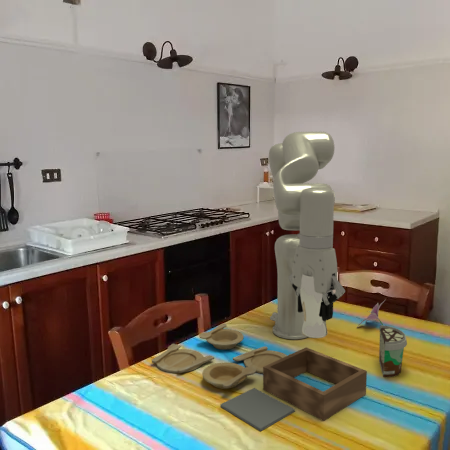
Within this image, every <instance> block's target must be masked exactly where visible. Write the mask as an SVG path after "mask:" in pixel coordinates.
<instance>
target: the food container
mask: <svg viewBox="0 0 450 450" xmlns="http://www.w3.org/2000/svg"><path fill="white" fill-rule="evenodd" d="M383 325H384V324H383ZM383 325H382V324H381V325H379V350H378V352H379V353H378V361H379V365H380V371H381V374H382V377H383V378H391V377H393V378H394V377H397V376H399V375H400V374H401V371H402V365H403V357H404V349H405V348H406V347H407V346H408V342H407V336H406V334H405V333H404V332H403V331H402V330H401V329H399V328H396V327H394V326H393V327H392V326H388V325H384V326H383Z"/></svg>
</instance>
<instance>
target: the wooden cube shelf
mask: <svg viewBox="0 0 450 450" xmlns="http://www.w3.org/2000/svg"><path fill="white" fill-rule="evenodd" d="M289 354H290V355H289ZM289 354H288V355H287V356H286V357H284V358H281V359H279V360H277V361H275V362H273V363H270V364H268V365H266V366H264V367H263V374H262V390H264V391H265V392H267V393H268V394H271V395H274V396H275V397H276V398H279V399H281V400H283V401H284V402H287V403H289V404H291V405H292V406H294V407H296V408H298V409H300V410H302V411H304V412H305V413H307V414H310V415H312V416H314V417H315V418H318V419H319V420H320V421H324V422H325V421H326V420H328V419H329V418H331V417H333V416H334V415H335V414H337V413H339V412H340V411H342V410H343V409H345V408H347V407H348V406H350V405H351V404H353V403H355V402H356V401H357V400H360V399H361V398H363V397H364V396H366V395H367V378H368V377H367V375H368V371H367V370H365V369H363V368H360V367H358V366H355V365H352V364H350V363H347V362H345V361H342V360H340V359H337V358H334V357H332V356H329V355H326V354H324V353H323V352H319V351H316V350H314V349H311V348H309V347H307V346H306V347H303V348H302V349H299V350H297V351H295V352H293V353H289ZM306 372H307V373H309V374H312V375H314V376H317V377H319V378H321V379H323V380H326V381H328V382H331V383H333V384H334V385H332V386H331V387H329V388H327V389H325V390H320V389H319V388H316V387H314V386H312V385H310V384H308V383H306V382H304V381H302V380H299V379H297V378H296V377H298V376H300V375H302V374H304V373H306Z"/></svg>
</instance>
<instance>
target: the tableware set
mask: <svg viewBox="0 0 450 450" xmlns="http://www.w3.org/2000/svg"><path fill="white" fill-rule="evenodd" d="M227 327H228V326H227V324H226V323H221V324H219V325H218V326H217V327H215V328H213V329H212V330H209V331H206V332H202V333H200V334H199V335H198V336H199V339H203V340H206V342H207V343H209V344H211V345H213V348H215V349H218V350H225V351H226V350H231V349H234V348H235V347H236V346H237V344H239V343H241V342H243V341H244V337H245V336H244V334H243V333H242V331H240V330H237V329H234V328H233V329H232V328H227ZM181 347H182V345H181V344H175V343H171V345H169V346H168V347H167V349H166V351H164V352H162V353H161V354H159V355H157V356H156V357H154V358H152V359H151V364H156V366H157V368H158V369H159V370H161V371H162V372H166V373H173V374H175V373H176V374H177V373H178V374H182V373H188V372H192V371H195V370H197V369H199V368H200V367H202V365H203V364H205V363H209V362H211V361H213V360H215V357H214V356H213V355H206V356H204V355H203V354H202V353H201V352H199V351H197V350H194V349H189V348H188V349H187V348H181ZM268 349H269V348H268V346H261V347H259V348H255V349H253V350H250V351H247V352H244V353H242V354H239V355H237V356H234V357H232V361H234V362H241V361H243V364H244V366H245V367H244V366H243V365H241V364H237V363H234V362H228V361H227V362H225V361H224V362H216V363H213V364H210V365H208V366H206V367H205V368H204V369H203V371H202V379H203V380H204V381H205V382H207V383H208V384H211V385H212V386H213V387H215V388H217V389H224V390H226V389H232V388H235V387H237V386H238V385H239V384H241V383H243V382H244V381H245V380H246V379H247V378H248V376H253V375H254V374H255V373H256V374H257V373H258V374H262V375H263V367H264V366H266V365H268V364H270V363H273V362H275V361H277V360H279V359H281V358H284V357H286V356H288V355H290V354H291V353H289V354H288V355H287V354H286V353H284V352H280V351H275V350H270V349H269V350H268Z"/></svg>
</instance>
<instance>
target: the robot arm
mask: <svg viewBox="0 0 450 450" xmlns="http://www.w3.org/2000/svg"><path fill="white" fill-rule="evenodd" d="M334 155H335V142H334V139H333V136H332V135H331V134H330V133H328V132H327V131H295V132H291V133H289V134H287V135H286V136H285V137H284V139H283V140H282V142H280V143H276V144H273V145H272V146H271V147H270V148H269V150H268V163H269V168H270V171H271V174H272V178H273V179H274V180H273V187H272V188H273V197H274V198H273V199H274V203H275V208H276V209H277V214H278V216H277V217H278V224H279V227H280V228H281V229H282V230H284V231H285V230H286V231H299V232H298V233H297V234H296V233H295V234H294V233H293V234H284V235H281V236H279V237H278V238H276V241H275V242H274V253H275V254H274V255H275V260H276V262H275V263H276V269H277V270H276V271H277V272H276V273H277V312H275V311H274V312H272V315H270V316H269V319H270V321H273V322H275V323H274V325H273V326H272V332H273V334H274V335H275V336H277V337H279V338H282V339H286V340H287V339H288V340H303V339H307V338H308V337H306V336H304V335H303V334H302V332H301V331H302V326H303V310H302V304H301V297H300V287H301V279H302V274H304V275H307V276H313V279H314V289H315V292H317V293H320V294H323V300H324V303H325V304H323V305H322V320H323V321H326V322H327V321H329V320H331V319H332V318H333V315H334V303H336V302H337V301H338V300H339V299H340V298H341V297H342V296H343V295H344V294H345V293H346V290H345V288H344V287H343V285H342V284H341V283H340V282H339V280H338V262H337V254H336V249H335V248H333V246H334V245H333V244H334V216H335V215H334V214H335V213H334V212H335V210H334V209H335V208H334V207H335V201H336V200H335V199H336V197H335V195H336V194H335V191H334V189H333V188H332V187H331V186H330V185H329V184H327V183H318V182H317V183H308V181H311V180H312V179H313V178H314V177H315V176H316V175H317V173H318V172H319V170H322V169H324V168H326V166H327V165H328V164H329V163H330V162H331V160H332V159H333V157H334ZM334 291H335V292H334ZM328 292H329V298H328V295H327V293H328Z"/></svg>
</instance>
